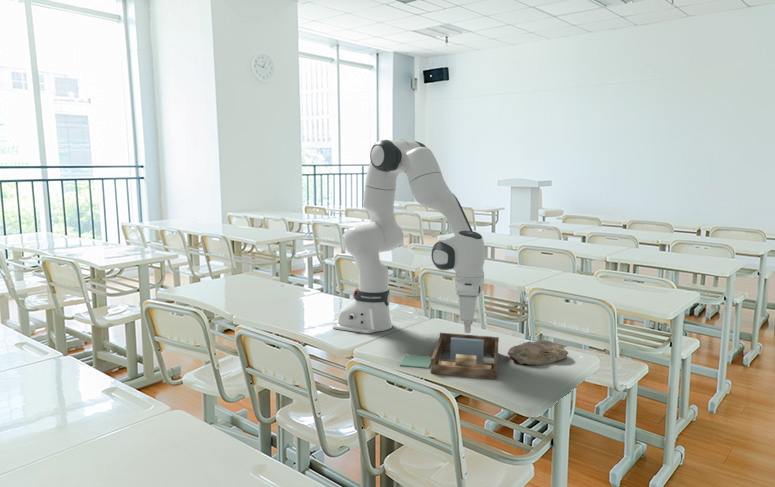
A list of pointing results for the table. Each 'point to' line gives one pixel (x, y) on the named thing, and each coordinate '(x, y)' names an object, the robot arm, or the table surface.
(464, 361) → the offcut top
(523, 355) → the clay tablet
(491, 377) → the rack
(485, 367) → the offcut
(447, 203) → the robot arm
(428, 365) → the pad
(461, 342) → the sheet
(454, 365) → the offcut
